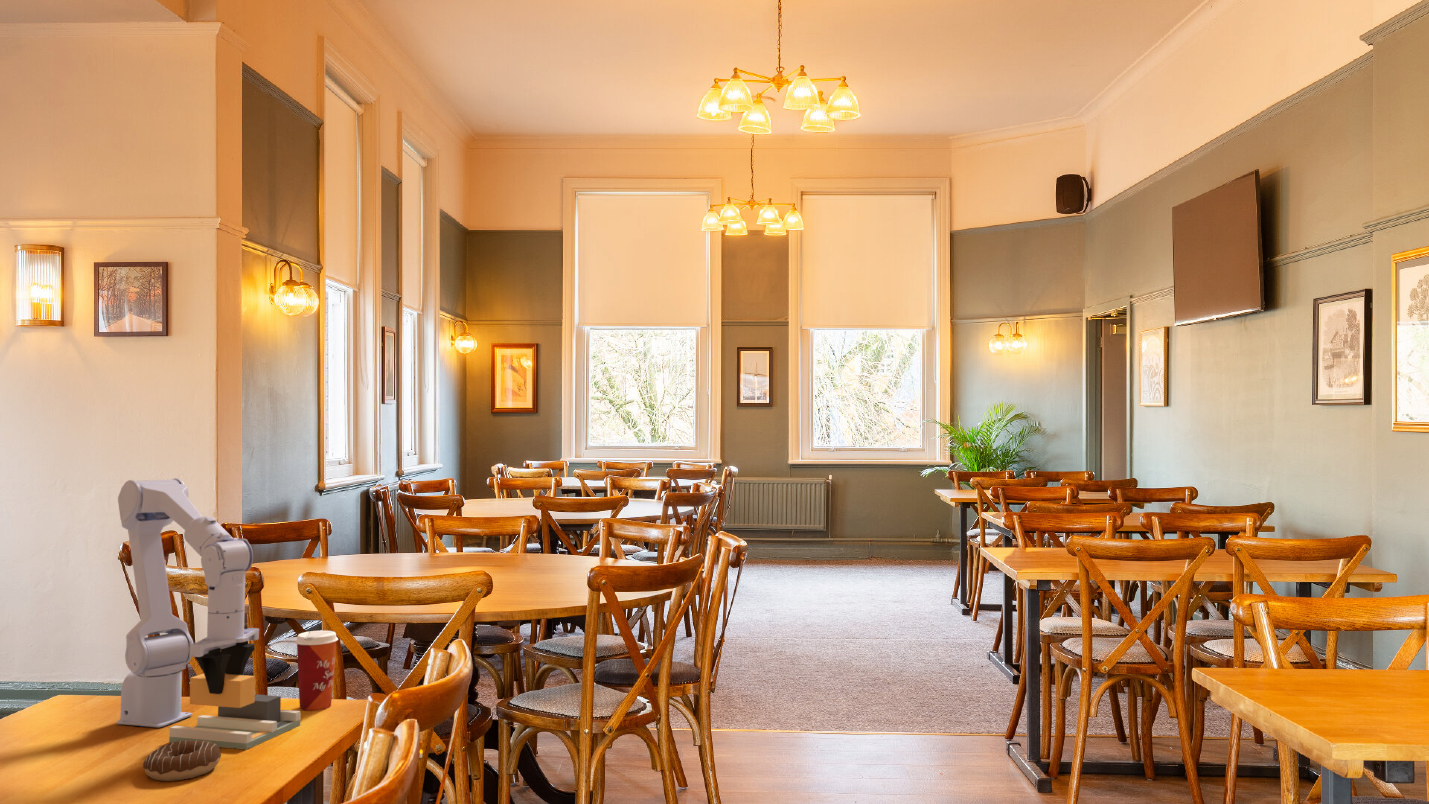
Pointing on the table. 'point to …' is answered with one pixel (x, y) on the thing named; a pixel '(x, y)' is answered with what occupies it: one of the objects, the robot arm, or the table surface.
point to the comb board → (235, 730)
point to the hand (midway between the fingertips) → (224, 690)
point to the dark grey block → (255, 709)
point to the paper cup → (316, 669)
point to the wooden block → (234, 692)
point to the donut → (182, 760)
